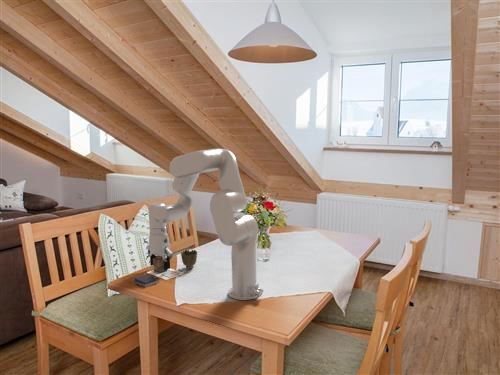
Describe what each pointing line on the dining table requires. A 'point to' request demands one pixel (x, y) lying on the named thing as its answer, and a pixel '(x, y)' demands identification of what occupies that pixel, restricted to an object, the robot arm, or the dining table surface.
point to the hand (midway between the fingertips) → (160, 266)
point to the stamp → (158, 264)
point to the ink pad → (145, 280)
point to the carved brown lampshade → (189, 258)
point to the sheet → (166, 274)
